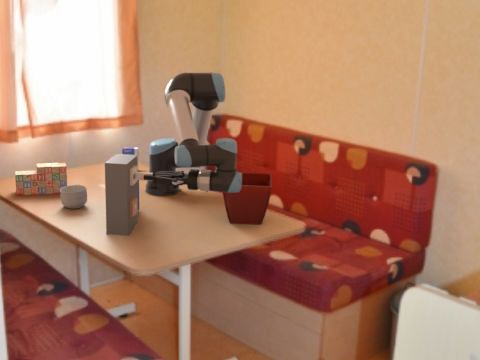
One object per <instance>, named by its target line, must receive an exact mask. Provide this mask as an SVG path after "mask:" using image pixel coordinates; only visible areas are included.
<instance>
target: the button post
mask: <svg viewBox="0 0 480 360" xmlns="http://www.w3.org/2000/svg"><path fill="white" fill-rule="evenodd" d="M134 165H135V166H137V172H139V157H138V158H137V155H128V154H122V153H116V154H114V155H113V156H112V157H111V158H109V159H108V160H106V161H105V162H104V177H105V178H104V181H105V183H104V186H105V188H104V190H105V229H106V230H105V231H106V235H115V236H117V235H118V236H127V237H128V236H129V235H130V234H131V233H132V231H133V230H134V229H135V227H137V225H138V224H139V211H138V212H137V213H136V214H135V215H134V217H130V200H131V199H132V198H133V197H134V196H137V197H138V180H137V182H136V183H135V184H134V185H133V186H130V168H131V167H133V166H134Z"/></svg>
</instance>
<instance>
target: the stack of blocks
mask: <svg viewBox="0 0 480 360" xmlns="http://www.w3.org/2000/svg"><path fill="white" fill-rule="evenodd" d="M14 173H15V175H14V176H15V191H16V193H15V194H16V196H23V195H24V196H27V195H31V196H32V195H46V194H60V189H61V188H63V187H66V186H68V174H67V164H66V162H51V163H50V162H48V163H47V162H45V163H36V170H18V171H17V170H16V171H15V172H14Z"/></svg>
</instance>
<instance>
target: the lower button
mask: <svg viewBox="0 0 480 360" xmlns="http://www.w3.org/2000/svg"><path fill="white" fill-rule="evenodd" d="M137 212H138V213H139V210H138V197H137V196H134V197H133V198H132V199H131V200H130V217H134V215H135V214H136V213H137Z"/></svg>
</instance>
